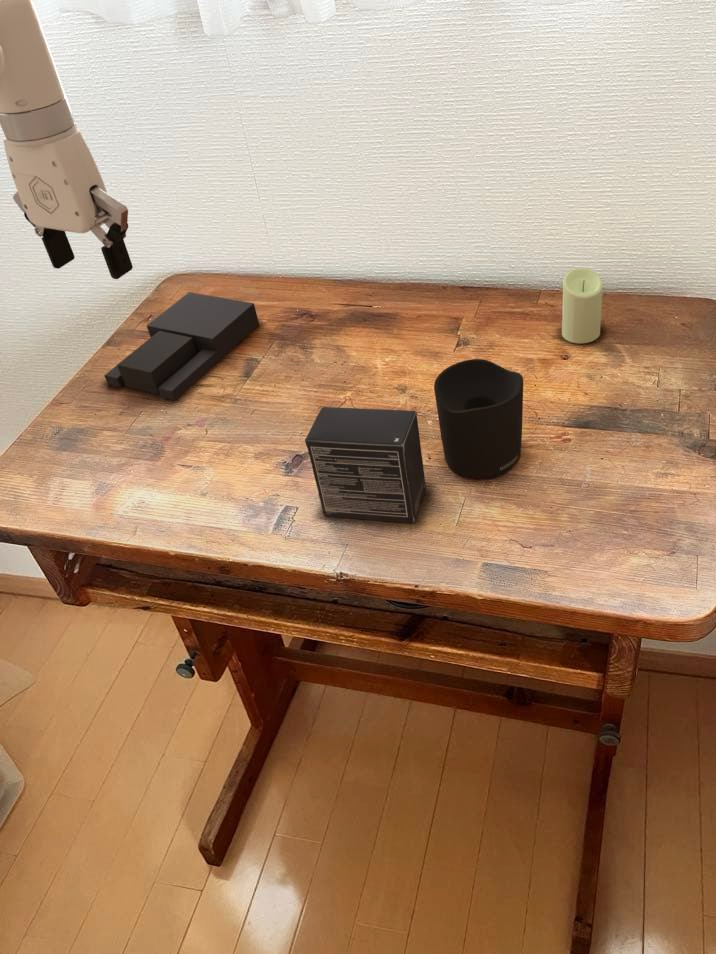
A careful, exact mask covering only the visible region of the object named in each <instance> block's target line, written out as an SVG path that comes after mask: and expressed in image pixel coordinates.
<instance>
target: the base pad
mask: <svg viewBox="0 0 716 954" xmlns="http://www.w3.org/2000/svg"><path fill="white" fill-rule="evenodd" d="M259 325H260V321H259V318H258V314H257V310H256V307H255V303H254V302H249V301H243V300H237V299H231V298H225V297H219V296H215V295H209V294H203V293H197V292H191V291H189V292H187V293H186V294H185V295H184V296H182V297H181V298H180V299H178V300H177V301H175V302H174V303H173V304H172V305H170V306H169V307H168V308H167V309H166V310H164V311H163V312H162V313H161V314H159V315H158V316H157V317H155V318H154V319H153V320H152V321H150V322H149V323H147V324H146V329H147V332H148V334H149V338H151V337H152V336H153V335H155V334H156V333H157V332H158V331H162V332H167V333H172V334H177V335H182V336H187V337H192V338H193V341H194V344H195V347H196V350H197V353H198V354H197V355H195V356H194V357H193V358H192V359H191V360H190V361H188V362H187V363H186V364H185V365H184V366H183V367H182V368H180V369H179V370H178V371H177V372H176V373H175V374H173V375H172V376H171V377H170V378H169V379H168V380H167V381H165V382H164V383H163V384H162V385H161V386H160V387H158V390H159V393H160V394H159V395H160V397H161V398H162V399H167V400H171V401H176V400H177V399H179V398H180V397H181V396H182V395H183V394H184V393H185V392H186V391H187V390H189V388H191V387H192V386H193V385H194V384H195V383H196V382H198V381H199V380H200V379H201V378H202V377H203V376H204V375H205V374H206V373H208V371H210V370H211V369H212V368H213V367H214V366H215V365H216V364H217V363H219V362H220V361H221V360H222V359H223V358H224V357H225V356H227V354H228V353H230V352H231V351H232V350H233V349H234V348H235V347H236V346H237V345H238V344H240V343H241V342H243V340H244V339H245V338H247V337H248V336H249V334H251V333H252V332H253V331H254V330H255V329H256V328H257V327H259ZM103 376H104V379H105V381H106V383H107V385H109V386H113V387H118V388H122V387H123V386H125V384H124V381H123V379H122V376H121V374H120V371H119V369H118V366H117V364H116V365H115V366H114V367H113V368H111V369H110V370H109V371H108V372H106V373H105V374H104V375H103Z"/></svg>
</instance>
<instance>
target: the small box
mask: <svg viewBox="0 0 716 954" xmlns="http://www.w3.org/2000/svg"><path fill="white" fill-rule="evenodd" d="M418 421H419V420H418V413H417V411H416V410H409V409H408V410H407V409H406V410H404V409H383V408H360V407H359V408H358V407H335V406H322V407H321V408H320V410H319V412H318V414H317V416H316V418H315V420H314V422H313V423H312V425H311V427H310V429H309V431H308V433H307V435H306V437H305V439H304V442H305V445H306V448H307V452H308V455H309V459H310V464H311V468H312V472H313V476H314V477H313V478H314V481H315V484H316V489H317V493H318V498H319V501H320V505H321V512H322V515H323V517H330V518H331V517H333V518H342V519H344V518H345V519H355V520H356V519H358V520H369V521H382V522H383V521H384V522H394V523H396V522H397V523H408V524H414V523H416V521H417V519H418V514H419V510H420V508H421V504H422V502H423V498H424V497H425V493H426V489H427V484H426V477H425V471H424V470H425V469H424V461H423V454H422V447H421V446H422V445H421V438H420V429H419V422H418Z"/></svg>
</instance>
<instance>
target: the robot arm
mask: <svg viewBox="0 0 716 954" xmlns="http://www.w3.org/2000/svg"><path fill="white" fill-rule="evenodd" d="M0 126H1V130H2V132H3V134H4V137H3V145H4V151H5V155H6V159H7V163H8V167H9V170H10V173H11V176H12V179H13V182H14V185H15V189H16V191H17V192H15V193H14V194H13V195H12V199H13V201H14V202H15V204H17V207H18V208H19V209H20V210H21V212H22V213H23V216H24V218H25V219H26V221H28V222H29V223H30V224H31V226H33V227H34V232H35V234H36V235H37V236H38V237H39V238H40V239H41V241H42V244H43V246H44V248H45V250H46V253H47V256H48V258H49V261H50V263H51V266H52V267H53V268H54V269H61V268H63V267H64V266H65V265H68V264H69V263H70V262H72V261H74V259H76V258H75V254H74V252H73V248H72V246H71V244H70V241H69V239H68V236H67V233H66V232H69V233H75V234H86V233H88V232H90V231H91V233H92V234H93V235H94V236H95V237H96V239H98V240H99V241H100V242H101V244H102V245H103V246H101V247H100V250H101V253H102V256H103V258H104V261H105V263H106V267H107V269H108V272H109V275H110V277H111V278H112V279H114V280H118V279H120V278H122V277H123V276H125V275H126V274H127V273H129V272H131V271H132V270H133V267H134V266H133V263H132V261H131V258H130V257H131V256H130V253H129V251H128V249H127V246H126V243H125V238H126V237H127V232H128V229H129V223H128V220H129V209H128V207H127V206H126V205H125V204H124V203H122V202H121V201H119V200H118V199H116V198H114V197H113V196H112V195H110V194H109V193H108V191H107V189H106V186H105V182H104V180H103V177H102V175H101V172H100V170H99V168H98V166H97V163H96V161H95V159H94V157H93V154H92V153H91V150H90V148H89V146H88V144H87V142H86V140H85V138H84V136H83V135H82V133H81V131H80V130H79V129H77V128H78V126H77V123H76V121H75V118H74V115H73V113H72V109H71V106H70V103H69V101H68V98H67V96H66V92H65V89H64V87H63V84H62V81H61V78H60V75H59V73H58V69H57V66H56V63H55V61H54V58H53V54H52V53H51V50H50V46H49V43H48V41H47V38H46V35H45V32H44V30H43V27H42V24H41V21H40V18H39V15H38V13H37V9H36V7H35V4H34V2H33V0H0ZM103 225H105V227H107V228H108V231H107V232H106V231H105V230H104V229H103V228H102V226H103Z"/></svg>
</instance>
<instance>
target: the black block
mask: <svg viewBox="0 0 716 954" xmlns="http://www.w3.org/2000/svg"><path fill="white" fill-rule="evenodd" d="M197 354H198V353H197V350H196V347H195V344H194V341H193V338H192V337H187V336H182V335H177V334H172V333H167V332H162V331H158V332H157V333H156V334H155V335H153V336H152V337H149V338H148V339H147V340H146V341H145V342H143V343H141V345H140V346H138V347H137V348H136V349H135V350H133V351H132V352H131V353H129V354H128V355H127V356H126V357H125V358H124V359H122V360H121V361H120V362H118V363H117V364H116V365H117V366H118V369H119V371H120V374H121V376H122V379H123V381H124V386H125V387H126V388H131V389H134V390H139V391H143V392H146V393H151V394H155V395H160V393H159V390H158V387H160V386H161V385H162V384H163V383H164V382H165V381H167V380H168V379H169V378H170V377H171V376H172V375H173V374H175V373H176V372H177V371H178V370H179V369H180V368H182V367H183V366H184V365H185V364H186V363H187V362H188V361H190V360H191V359H192V358H193V357H194V356H195V355H197Z"/></svg>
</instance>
